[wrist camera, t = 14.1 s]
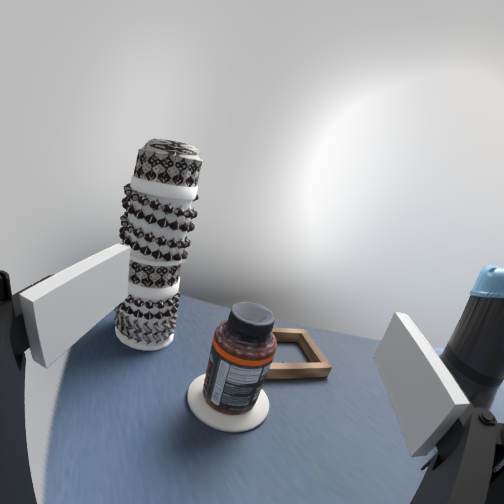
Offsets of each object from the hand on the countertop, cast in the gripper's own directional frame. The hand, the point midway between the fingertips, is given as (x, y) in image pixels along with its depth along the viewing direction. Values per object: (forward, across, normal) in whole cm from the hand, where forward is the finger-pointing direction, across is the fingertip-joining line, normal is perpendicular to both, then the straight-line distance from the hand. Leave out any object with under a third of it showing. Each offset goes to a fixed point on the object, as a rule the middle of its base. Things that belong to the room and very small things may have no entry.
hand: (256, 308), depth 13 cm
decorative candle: (+18, -14, -18) cm, 29 cm away
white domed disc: (+11, 0, -18) cm, 21 cm away
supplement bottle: (+11, 0, -17) cm, 20 cm away
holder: (+22, +6, -18) cm, 30 cm away
